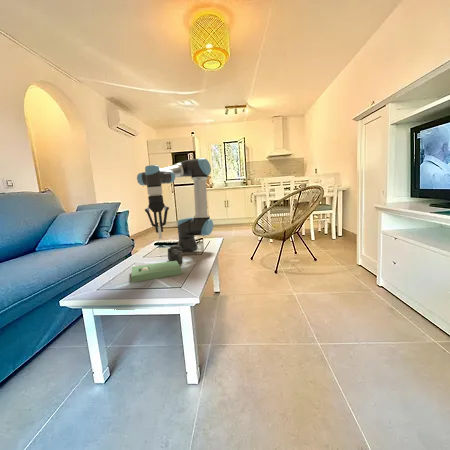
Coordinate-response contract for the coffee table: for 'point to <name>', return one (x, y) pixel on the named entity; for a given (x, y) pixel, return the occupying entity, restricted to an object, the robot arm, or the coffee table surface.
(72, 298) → the coffee table surface
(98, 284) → the coffee table surface
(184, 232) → the robot arm
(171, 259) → the camera
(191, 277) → the coffee table surface
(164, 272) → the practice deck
